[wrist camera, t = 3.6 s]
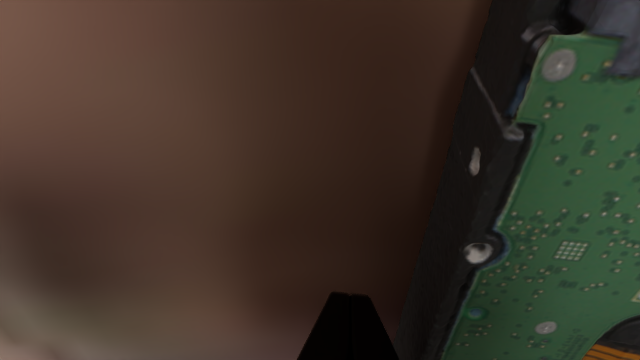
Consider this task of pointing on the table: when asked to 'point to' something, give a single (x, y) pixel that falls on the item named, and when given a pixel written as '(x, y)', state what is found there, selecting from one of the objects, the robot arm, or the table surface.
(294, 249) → the table surface
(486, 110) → the disk drive
